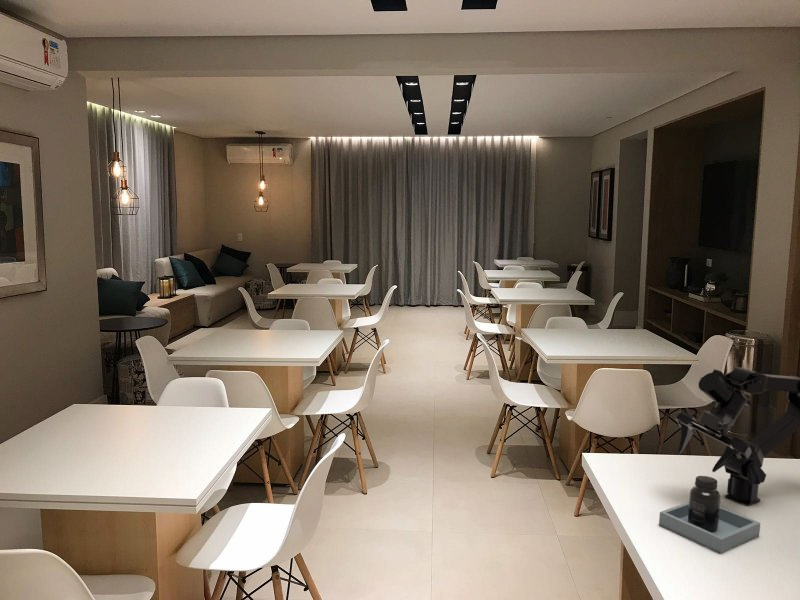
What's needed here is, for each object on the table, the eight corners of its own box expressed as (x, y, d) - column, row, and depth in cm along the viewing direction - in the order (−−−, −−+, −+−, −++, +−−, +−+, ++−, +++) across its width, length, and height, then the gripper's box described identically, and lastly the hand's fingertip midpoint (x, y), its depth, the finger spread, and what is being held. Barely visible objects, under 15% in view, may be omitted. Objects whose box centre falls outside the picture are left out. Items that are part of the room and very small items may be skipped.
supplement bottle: (724, 532, 161) (728, 484, 159) (697, 533, 160) (701, 485, 158) (707, 519, 168) (711, 473, 166) (681, 520, 167) (685, 474, 165)
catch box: (759, 536, 161) (760, 522, 160) (720, 554, 152) (721, 539, 151) (697, 510, 174) (698, 497, 173) (658, 525, 165) (659, 511, 165)
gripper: (686, 384, 176) (655, 435, 174) (758, 418, 163) (725, 473, 161) (694, 399, 184) (665, 447, 182) (764, 432, 171) (733, 484, 169)
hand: (695, 462), depth 173 cm, fingers open, 9 cm apart
